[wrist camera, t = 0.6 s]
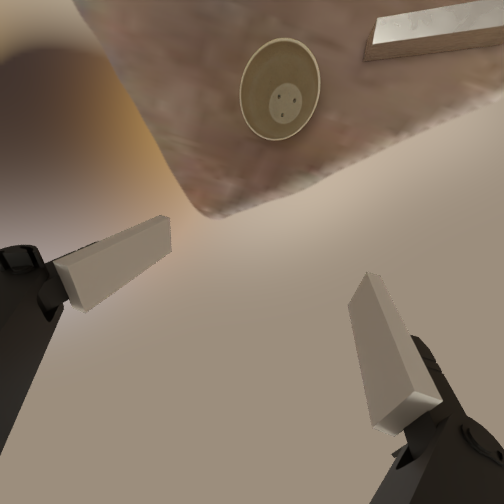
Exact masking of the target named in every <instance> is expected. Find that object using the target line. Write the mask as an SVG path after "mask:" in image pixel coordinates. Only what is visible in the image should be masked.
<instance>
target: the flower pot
mask: <svg viewBox="0 0 504 504" xmlns="http://www.w3.org/2000/svg"><path fill="white" fill-rule="evenodd" d="M319 94H320V72H319V67H318V64H317V62H316V59H315V57H314V55H313V54H312V52H311V51H310V50H309V49H308V47H306V46H305V45H304V44H303V43H301V42H300V41H298V40H295V39H292V38H277V39H274V40H271V41H269V42H267V43H266V44H264V45H263V46H261V47H260V48H259V49H258V50H257V51H256V52H255V53H254V54H253V56H252V57H251V59H250V60H249V62H248V64H247V65H246V67H245V70H244V72H243V75H242V79H241V83H240V91H239V100H240V107H241V111H242V115H243V117H244V119H245V121H246V123H247V125H248V126H249V128H250V129H251V130H252V131H253V132H254V133H255V134H257V135H258V136H260V137H261V138H264V139H267V140H272V141H277V140H284V139H287V138H289V137H291V136H293V135H295V134H296V133H297V132H299V131H300V130H301V129H302V128H303V127H304V126H305V125H306V124H307V122H308V121H309V120H310V118H311V116H312V115H313V113H314V110H315V108H316V105H317V102H318V99H319ZM278 97H280V98H278ZM294 99H295V101H294ZM283 114H284V116H283Z"/></svg>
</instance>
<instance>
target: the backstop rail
mask: <svg viewBox="0 0 504 504" xmlns="http://www.w3.org/2000/svg"><path fill="white" fill-rule="evenodd" d="M502 43H504V0H480V1H475V2H469V3H463V4H457V5H451V6H445V7H440V8H434V9H428V10H422V11H416V12H410V13H405V14H399V15H393V16H387V17H381V18H377V20H376V22H375V24H374V27H373V29H372V31H371V33H370V35H369V37H368V40H367V43H366V49H365V54H364V60H363V62H365V61H373V60H381V59H389V58H398V57H406V56H414V55H422V54H430V53H438V52H446V51H454V50H462V49H471V48H479V47H487V46H495V45H500V44H502Z"/></svg>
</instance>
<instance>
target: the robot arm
mask: <svg viewBox="0 0 504 504" xmlns="http://www.w3.org/2000/svg"><path fill="white" fill-rule="evenodd" d="M170 252H171V232H170V218H169V217H165V216H162V215H159V216H157V217H155V218H152V219H150V220H148V221H145V222H143V223H141V224H138V225H136V226H134V227H131V228H129V229H127V230H124V231H122V232H120V233H117V234H115V235H113V236H110V237H108V238H106V239H103V240H101V241H98V242H94V243H92V244H90V245H87V246H86V247H82V248H80V249H78V250H77V251H73V252H71V253H68V254H66V255H64V256H62V257H59V258H57V259H54V260H52V261H50V262H48V263H45V264H44V261H43V259H42V257H41V255H40V253H39V250H38V248H37V247H36V246H32V245H16V246H10V247H6V248H3V249H0V455H1V452H2V450H3V448H4V445H5V443H6V440H7V438H8V436H9V434H10V431H11V429H12V427H13V425H14V422H15V420H16V418H17V415H18V413H19V411H20V409H21V406H22V404H23V402H24V399H25V397H26V395H27V392H28V390H29V388H30V385H31V383H32V381H33V379H34V376H35V374H36V372H37V369H38V367H39V365H40V363H41V360H42V358H43V356H44V353H45V351H46V349H47V346H48V344H49V342H50V339H51V337H52V335H53V333H54V330H55V328H56V325H57V323H58V321H59V319H60V316H61V314H62V312H63V310H64V306H63V302H65V301H67V300H68V299H69V300H70V303H71V305H72V308H73V309H76V310H78V311H81V312H83V313H87V312H88V311H89V310H91V309H92V308H93V307H95V306H96V305H98V304H99V303H100V302H102V301H103V300H105V299H106V298H107V297H109V296H110V295H112V294H113V293H114V292H116V291H117V290H119V289H120V288H121V287H123V286H124V285H126V284H127V283H128V282H130V281H131V280H133V279H134V278H135V277H137V276H138V275H140V274H141V273H142V272H144V271H145V270H146V269H148V268H149V267H151V266H152V265H153V264H155V263H156V262H158V261H159V260H160V259H162V258H163V257H165V256H166V255H167V254H169V253H170ZM348 309H349V313H350V319H351V324H352V329H353V334H354V339H355V344H356V349H357V354H358V359H359V364H360V369H361V374H362V379H363V384H364V389H365V394H366V399H367V404H368V409H369V415H370V419H371V425H372V428H373V429H376V430H378V431H381V432H384V433H386V434H388V435H391V436H394V437H395V436H396V435H397V434H399V433H400V432H402V431H403V430H404V433H405V436H406V439H407V442H408V443H407V444H406V445H404V446H403V447H401V448H400V449H398V450H397V451H395V452H394V453H392V456H393V457H394V458H395V457H396V459H395V461H394V463H393V464H392V466H391V468H390V470H389V471H388V473H387V475H386V476H385V478H384V480H383V481H382V483H381V485H380V486H379V488H378V490H377V492H376V494H375V495H374V497H373V498H372V500H371V502H370V504H504V449H503V448H502V446H501V445H500V444H499V443H498V441H497V440H496V439H495V438H494V436H492V435H491V434H490V433H489V432H488V431H487V430H486V429H485V428H484V427H483V426H482V425H480V424H479V423H477V422H476V421H475V420H473V419H472V418H470V417H468V416H467V415H466V414H465V412H464V410H463V408H462V407H461V404H460V403H459V401H458V399H457V397H456V396H455V394H454V392H453V390H452V388H451V387H450V385H449V383H448V381H447V380H446V378H445V376H444V374H442V371H441V369H440V367H439V365H438V364H437V363H436V360H435V358H434V356H433V355H432V353H431V351H430V349H429V348H428V347H427V346H426V345H425V344H424V343H423V342H422V341H421V339H420V338H419V337H416V336H413V335H410V334H409V332H408V330H407V328H406V326H405V324H404V322H403V320H402V318H401V316H400V314H399V312H398V310H397V308H396V306H395V304H394V302H393V300H392V298H391V296H390V294H389V292H388V290H387V288H386V286H385V284H384V282H383V280H382V278H381V276H379V275H375V274H372V273H368V272H366V274H365V276H364V278H363V280H362V281H361V283H360V285H359V287H358V288H357V290H356V292H355V294H354V296H353V297H352V299H351V301H350V303H349V305H348Z"/></svg>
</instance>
